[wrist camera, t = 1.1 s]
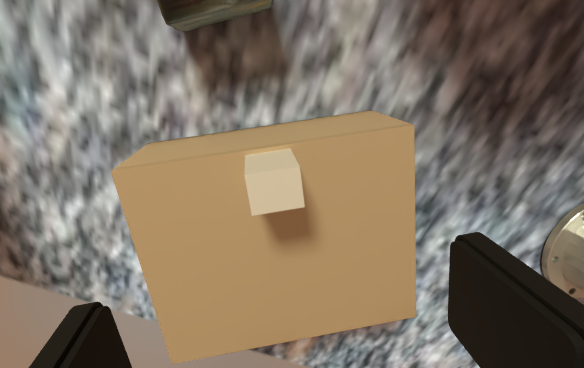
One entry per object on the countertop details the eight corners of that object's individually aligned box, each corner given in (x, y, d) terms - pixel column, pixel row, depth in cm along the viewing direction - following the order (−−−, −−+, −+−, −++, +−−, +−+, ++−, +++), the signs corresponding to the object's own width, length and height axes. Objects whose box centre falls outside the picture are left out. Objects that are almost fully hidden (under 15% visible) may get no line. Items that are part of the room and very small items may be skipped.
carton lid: (410, 123, 24) (450, 137, 19) (412, 312, 29) (444, 359, 24) (114, 168, 22) (78, 195, 18) (173, 358, 28) (158, 417, 23)
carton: (370, 110, 31) (409, 123, 24) (378, 261, 37) (412, 311, 29) (148, 143, 30) (114, 168, 22) (189, 295, 35) (173, 357, 28)
